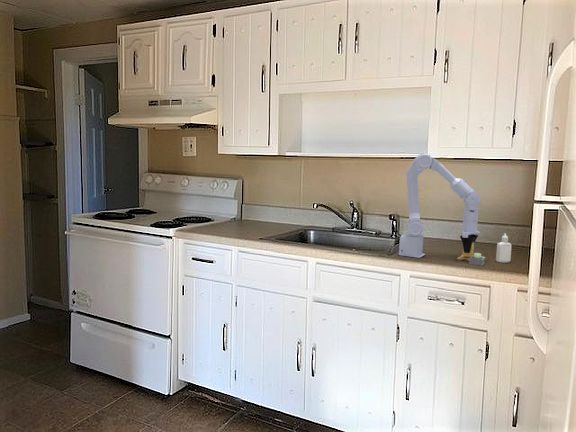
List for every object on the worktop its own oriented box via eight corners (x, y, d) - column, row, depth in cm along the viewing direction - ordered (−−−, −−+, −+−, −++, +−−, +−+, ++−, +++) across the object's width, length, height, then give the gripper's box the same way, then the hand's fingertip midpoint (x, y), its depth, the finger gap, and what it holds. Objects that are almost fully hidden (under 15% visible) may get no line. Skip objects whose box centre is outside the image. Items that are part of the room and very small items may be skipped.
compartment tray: (456, 259, 201) (456, 257, 201) (462, 255, 209) (462, 253, 209) (480, 262, 196) (480, 260, 196) (485, 258, 204) (485, 256, 204)
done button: (472, 260, 194) (473, 253, 193) (474, 259, 196) (474, 252, 196) (479, 261, 192) (480, 254, 192) (481, 260, 195) (482, 253, 194)
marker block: (462, 255, 202) (463, 240, 201) (464, 254, 205) (465, 239, 204) (471, 256, 200) (472, 241, 199) (473, 255, 203) (474, 240, 202)
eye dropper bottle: (510, 263, 196) (513, 234, 194) (496, 262, 197) (498, 233, 196) (509, 261, 200) (512, 233, 198) (495, 260, 202) (497, 232, 200)
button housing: (469, 263, 194) (469, 258, 193) (472, 261, 198) (472, 255, 197) (482, 265, 191) (482, 259, 191) (484, 263, 195) (485, 257, 195)
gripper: (476, 223, 192) (473, 256, 194) (484, 219, 204) (481, 250, 206) (458, 221, 196) (456, 254, 198) (467, 217, 208) (464, 248, 210)
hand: (468, 252), depth 202 cm, fingers closed on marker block, 3 cm apart
